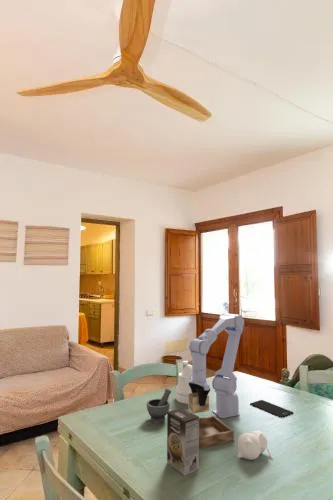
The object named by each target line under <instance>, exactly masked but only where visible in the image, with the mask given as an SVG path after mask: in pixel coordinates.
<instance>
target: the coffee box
mask: <svg viewBox="0 0 333 500" xmlns="http://www.w3.org/2000/svg"><path fill="white" fill-rule="evenodd" d="M166 416H167V418H166V420H167V421H166V422H167V423H166V424H167V425H166V426H167V427H166V429H167V431H166V433H167V435H166V439H167V440H166V443H167V444H166V454H167V455H166V462H167V464H168V465H170V466H171V467H172V468H173V469H175V470H176V471H178V473H180V474H181V475H182V476H184V477H185V476H188V475H190V474H192V473H194V472H196V471H198V470H199V469H200V468H199V467H200V465H199V463H200V459H199V458H200V457H199V455H200V452H199V450H200V448H199V418H200V416H198V415H197V414H195V413H193V412H191V411H190V410H189V411H188V410H187V409H184V408H182V407H180V408H176V409H172V410H169V411H168V412H167V414H166Z"/></svg>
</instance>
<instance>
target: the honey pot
mask: <svg viewBox="0 0 333 500" xmlns="http://www.w3.org/2000/svg"><path fill="white" fill-rule="evenodd" d="M182 364H183V365H184V367H183V369H182V371H181V372H179V373H178V377H179V379H178V380H177V385H176V387H175V390H176V391H175V401H177V402H179V403H182V404H187V405H188V394H189V393H192V391H191V388H190V386H189V383H190V375H192V364H189V361H188V360H183V361H182Z"/></svg>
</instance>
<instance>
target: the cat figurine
mask: <svg viewBox="0 0 333 500" xmlns="http://www.w3.org/2000/svg"><path fill="white" fill-rule="evenodd" d="M237 449H238V452H237V455H236V456H237V458H240V459H241V458H244V459H246V460H249V461H253V460H256V459H258V458H259V457H260V454H261V453H264V452H265V451H266V450H267V452H268V455H269V457H270V460H273V459H274V458H273V454H272V451H271V449H270V448H269V447H268V439H267V436H266V435H265V434H264V433H263V432H262V431H261V430H260V429H259V428H257V429H256V430H252V431H251V432H244V433H241V434H240V435H239V437H238V440H237Z"/></svg>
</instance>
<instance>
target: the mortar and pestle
mask: <svg viewBox="0 0 333 500" xmlns="http://www.w3.org/2000/svg"><path fill="white" fill-rule="evenodd" d="M171 393H172V390H171V389H169V388H165V389H164V393H163V395H162V396H161V398H152V399H150V400H148V401H146V409H147V412H148V414H149V416H150V421H151V423H156V424H161V423H164V422H165V421H166V416H167V412H168V411H170V407H171V406H170V405H171V404H170V402H169V397H170V395H171Z"/></svg>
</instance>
